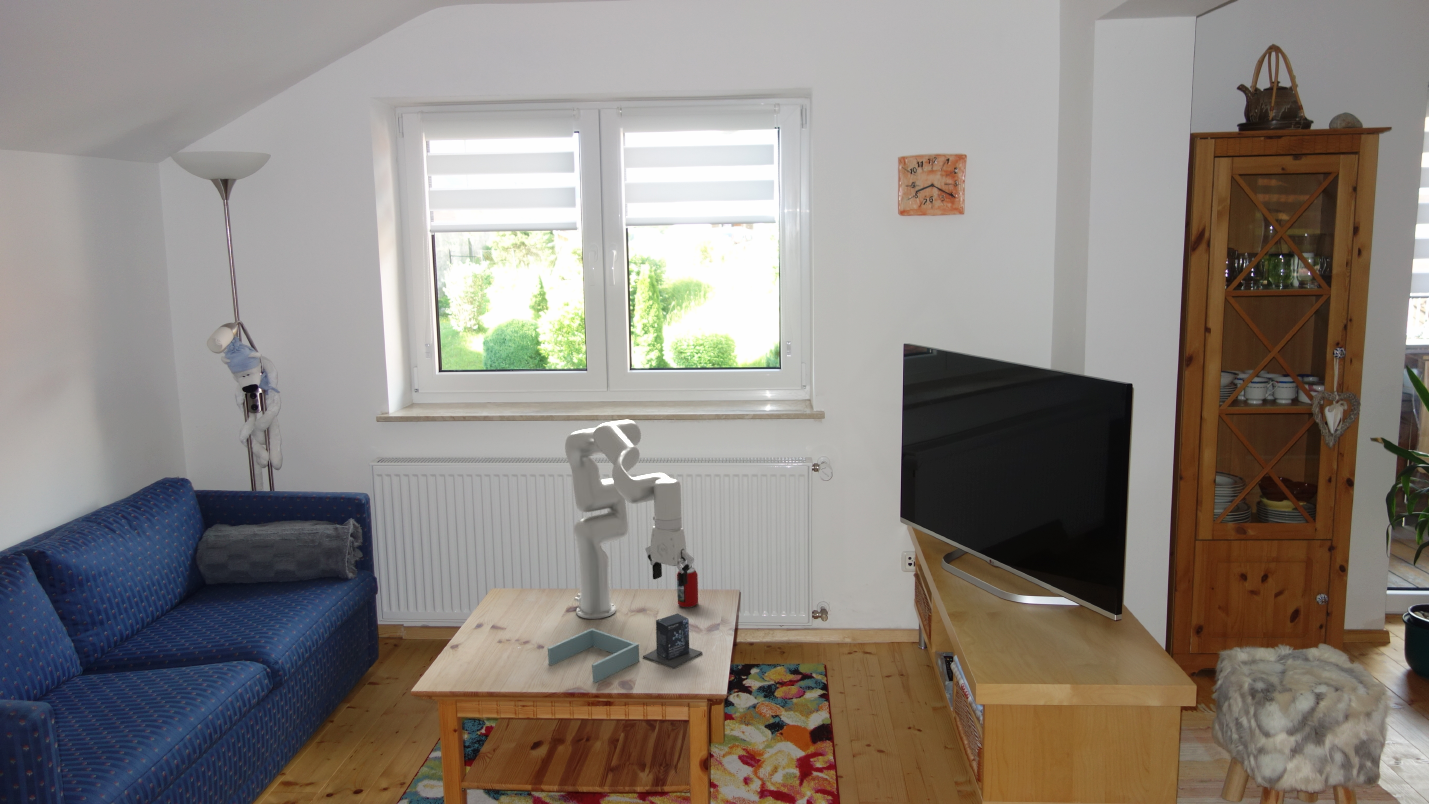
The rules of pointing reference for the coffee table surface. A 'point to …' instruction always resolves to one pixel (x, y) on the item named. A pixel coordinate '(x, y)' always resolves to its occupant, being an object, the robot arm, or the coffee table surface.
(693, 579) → the beverage can
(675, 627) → the box
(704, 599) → the coffee table surface
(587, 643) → the cubby
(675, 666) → the mat
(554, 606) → the coffee table surface
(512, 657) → the coffee table surface
